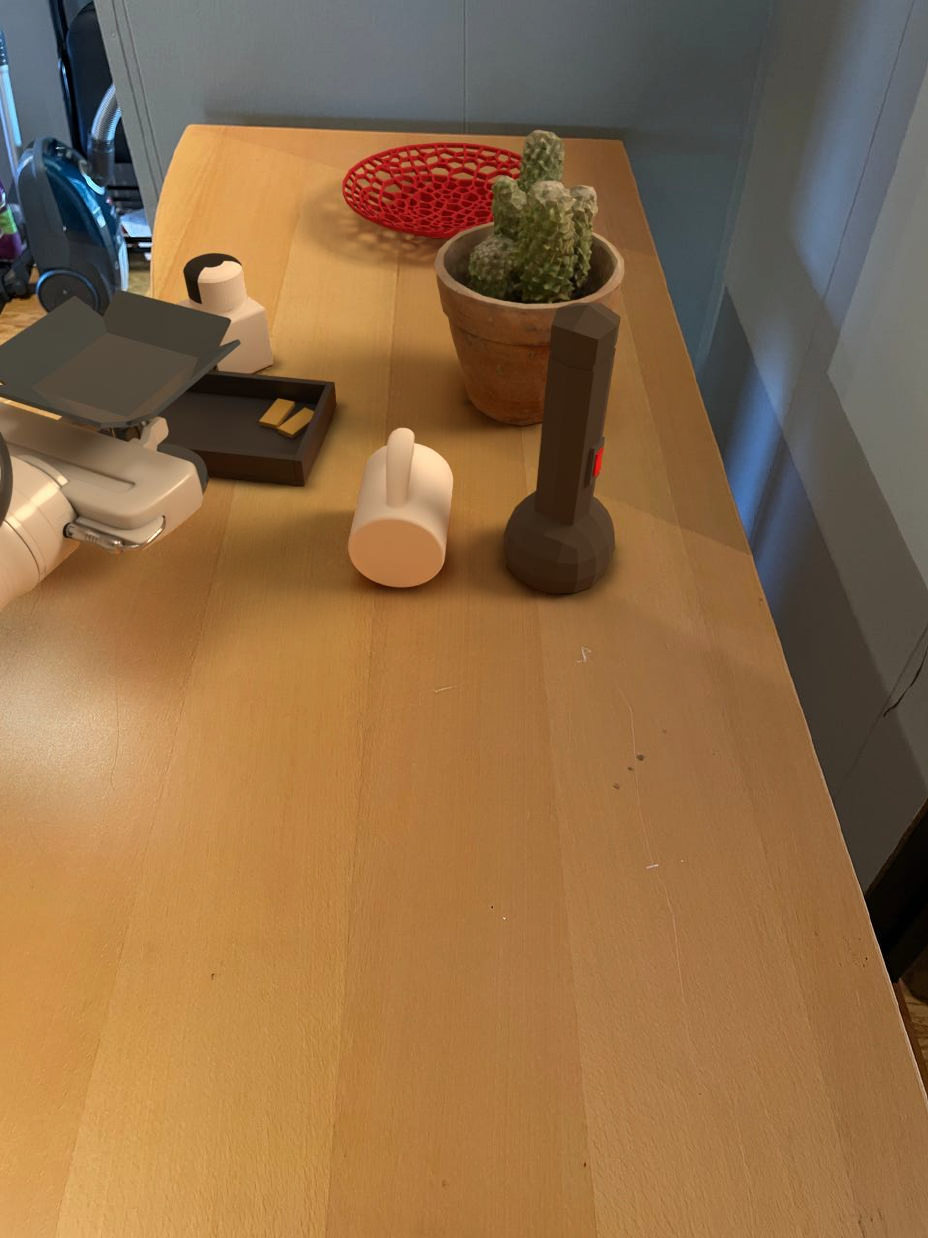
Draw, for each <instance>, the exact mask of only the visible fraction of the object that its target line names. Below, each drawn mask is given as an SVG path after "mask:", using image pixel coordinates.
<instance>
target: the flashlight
mask: <svg viewBox="0 0 928 1238" xmlns="http://www.w3.org/2000/svg"><path fill="white" fill-rule="evenodd" d="M621 319H622V317H621V316H620V315H619V314H617V313H616V312H615V311H614V310H613V311H612V310H610V309H609V308H608V307H606V306H605V305H603V304H602V303H572V304H569V305H565V306H562V307H559V308H558V309H557V312H556V314H555V317H554V320H553V322H552V326H551V336H550V347H549V350H551V352H550V354H549V358H548V368H547V379H546V390H545V401H544V411H543V421H542V422H541V424H542V425H541V432H540V433H541V434H540V444H539V456H538V465H537V475H536V476H537V477H536V487H535V490H534V491H533V492H531V493H530V494H528V495H527V496H526V497H525V498H523V499H522V500H521V501H520V502H519V503H518V504H517V505H516V506H515V507H514V508H513V510H512V512H511V514H510V516H509V518H508V519H507V523H506V527H505V530H504V533H503V549H504V557H505V562H506V566H507V567H508V568H509V570H510V571H511V572H512V574H513V575H514V577H515V578H516V579H518V580H519V581H521V582H522V583H524V584H526V585H527V586H529V587H530V588H532V589H534V590H537V591H542V592H545V593H548V594H549V593H550V594H576V593H578V592H581V591H584V590H587V589H590V588H592V587H593V586H594V585H595V584H597V583H598V582H599V581H600V580H601V579H602V578H603V577H604V575H605V573H606V571H607V569H608V566H609V565H610V562H611V560H612V557H613V554H614V552H615V550H616V539H615V538H616V536H615V534H616V533H615V529H614V522H613V518H612V517H611V515H610V513H609V510H608V509H607V508H606V507H605V505H604V504H603V503H602V502H601V501H600V500H599V498H597V497H596V496H594V495H595V488H596V483H597V482H596V481H597V479H598V477H599V475H600V472H601V471H602V461H603V454H604V450H605V447H604V446H605V440H606V437H605V436H603V435H604V430H605V429H604V428H605V421H606V415H607V411H608V410H607V409H608V402H609V397H610V389H611V385H612V384H611V382H612V378H613V377H612V376H613V371H614V370H613V369H614V363H615V356H616V351H617V348H616V345H617V342H618V337H619V330H620V323H621Z"/></svg>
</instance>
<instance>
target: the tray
mask: <svg viewBox="0 0 928 1238" xmlns="http://www.w3.org/2000/svg"><path fill="white" fill-rule="evenodd" d="M336 392H337V391H336V382H335V381H329V380H319V379H308V378H301V377H300V378H298V377H288V376H279V375H278V376H277V375H269V374H257V373H252V374H248V373H238V372H228V371H217V370H210V371H208V372H207V373H206V374H205V375H204V376H203V377H202V378H200V379H199V380H198V381H197V382H196V383H195V384H193V385H192V386H191V387H190V388H189V389H188V390H186V391H185V392H184V393H183V394H182V395H181V396H179V397H178V398H177V399H176V400H175V401H174V402H172V403H171V404H170V405H169V406H168V407H167V408H165V409H164V410H163V411H162V412H161V413H160V414H158V415H157V417H161V418H164V419H165V420H166V423H167V427H168V435H167V437H166V438H165V439H164V440H163V441H162V442H160V443H159V444H161V443H162V444H172V445H177V446H181V447H184V448H187V449H189V450H191V451H193V452H195V453H196V454H197V455H198V456H199V457H201V459H202V460H203V461H204V463H205V465H206V468H207V472H208V477H218V478H226V479H234V480H235V479H236V480H246V481H255V482H265V483H272V484H273V483H274V484H281V485H282V484H283V485H292V486H301V487H302V486H303V487H305V486H306V484H307V482H308V479H309V477H310V474H311V472H312V469H313V466H314V465H315V462H316V459H317V457H318V455H319V452H320V449H321V447H322V445H323V443H324V440H325V437H326V434H327V432H328V430H329V428H330V425H331V422H332V420H333V417H334V415H335V413H336V410H337V408H338V403H337V393H336ZM278 398H279V399H284V400H288V401H293V402H295V407H294V409H293V410H292V411H291V412H290V414H289V415H288V416H287V417H286V419H285V420H284V421H283V422H282V424H284V423H285V422H286V421H288V420H289V419H290V418H292V417H293V416H294V415H296V414H297V413H298V412H300V411H301V410H302V409H304V408H307V409H309V410H312V411H314V414H313V416H312V418H311V421H310V423H309V425H308V428H307V429H305V430H304V431H303V432H301V433H300V434H299V435H297V436H296V437H295V438H294V439H292V438H289V437H287V436H285V435H283V434H281V433H278V429H273V428H269V427H264V426H260V424H259V420H260V419H261V418H262V417H263V416H264V414H265V413H266V412H267V411H268V410H269V408H270V407H271V406H272V405H273V404H274V402H275V401H276V400H277V399H278ZM282 424H281V425H282ZM281 425H280V426H281ZM97 432H98V433H101V434H104V435H107V436H110V437H113V438H114V436H113V432H112V430H111V431H110V432H109V431H106V430H102V429H101V430H100V431H97Z"/></svg>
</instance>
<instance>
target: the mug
mask: <svg viewBox="0 0 928 1238" xmlns="http://www.w3.org/2000/svg"><path fill="white" fill-rule="evenodd" d="M449 465H450V464H449V463H448V462H447V461H446V460H445V458H444V457H443V456H442V455H441V454H439V453H438V452H437V451H435V450H434V449H432V448H430V447H428V446H426V445H423V444H419V443H416V442H415V433H414V432H413V430H412V429H410V428H407V427H398V428H396V429H394V430H393V431H392V432H391V433H390V434H389V436H388V439H387V442H386V445H384V446H382V447H380V448H379V449H377V450H376V451H375V452H373V454H371V455H370V456H369V458H368V459H367V461H366V463H365V466H364V469H363V473H362V477H361V483H360V487H359V492H358V495H357V496H358V497H357V501H356V506H355V510H354V515H353V519H352V523H351V528H350V533H349V538H348V541H347V542H348V543H347V551H348V556H349V559H350V561H351V563H352V565H353V566H354V567H355V568H356V569H357V571H358V572H359V573H361V575H363V576H364V577H366V578H367V579H369V580H370V581H372V582H375V583H377V584H379V585H383V586H385V587H386V586H387V587H392V588H411V587H415V586H416V587H417V586H420V585H422V584H425V583H427V582H429V581H430V580H432V579H433V578H435V576H436V575H438V574H439V572H440V571H441V570H442V568H443V565H444V563H445V558H446V551H447V541H448V533H449V525H450V516H451V507H452V499H453V491H454V490H453V488H454V475H453V472H452V468H451V467H450V466H449Z"/></svg>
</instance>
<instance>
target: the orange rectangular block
mask: <svg viewBox="0 0 928 1238" xmlns="http://www.w3.org/2000/svg"><path fill="white" fill-rule="evenodd" d="M294 407H295V402H293V401H288V400H284V399H279V398H278V399H277V400H276V401H275V402H274V404H273V405H272V406H271V407H270V408H269V410H268V411H267V412H266V413H265V414H264V416H263V417H262V418H261V419H260V420H259V424H260V426H264V427H269V428H273V429H278V427H279V426H280V425H281V424H282V422H283V421H284V420H285V419H286V417H287V416H288V415H289V414H290V412H291V411H292V410H293V409H294Z"/></svg>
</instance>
